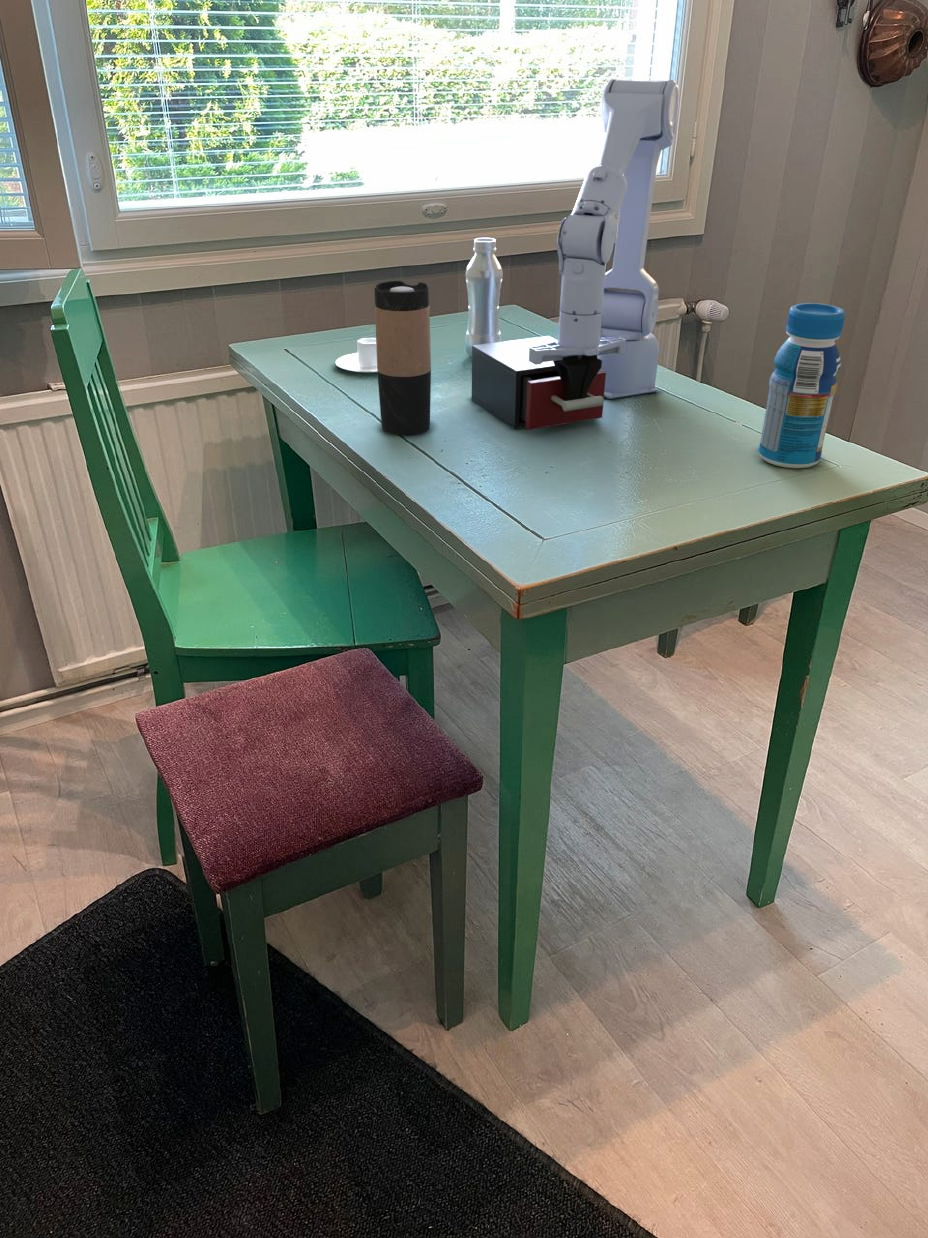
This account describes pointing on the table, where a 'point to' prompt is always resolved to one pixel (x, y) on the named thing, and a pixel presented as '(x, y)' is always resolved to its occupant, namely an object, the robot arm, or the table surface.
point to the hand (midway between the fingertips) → (573, 408)
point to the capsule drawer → (558, 401)
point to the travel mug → (403, 356)
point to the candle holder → (361, 357)
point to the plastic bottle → (483, 295)
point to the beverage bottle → (802, 387)
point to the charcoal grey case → (504, 375)
